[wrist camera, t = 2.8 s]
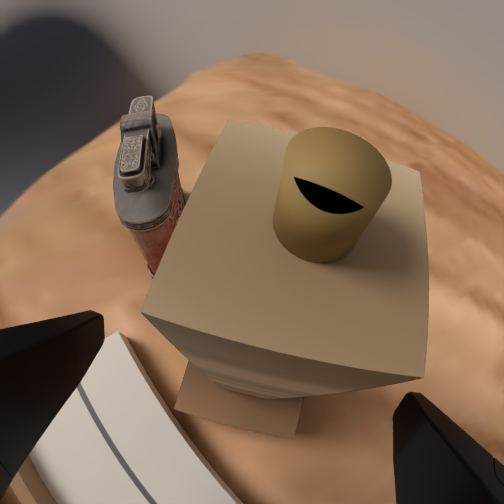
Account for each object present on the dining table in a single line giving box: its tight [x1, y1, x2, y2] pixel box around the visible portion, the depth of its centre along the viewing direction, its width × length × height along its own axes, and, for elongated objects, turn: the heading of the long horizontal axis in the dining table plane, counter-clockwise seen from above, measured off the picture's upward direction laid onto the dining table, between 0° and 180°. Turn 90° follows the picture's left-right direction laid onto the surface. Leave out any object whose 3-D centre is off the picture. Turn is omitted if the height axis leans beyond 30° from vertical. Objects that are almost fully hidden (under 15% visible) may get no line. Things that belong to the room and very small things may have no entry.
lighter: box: [113, 96, 187, 279], centre depth 17 cm, size 8×3×10 cm, turn 9°
